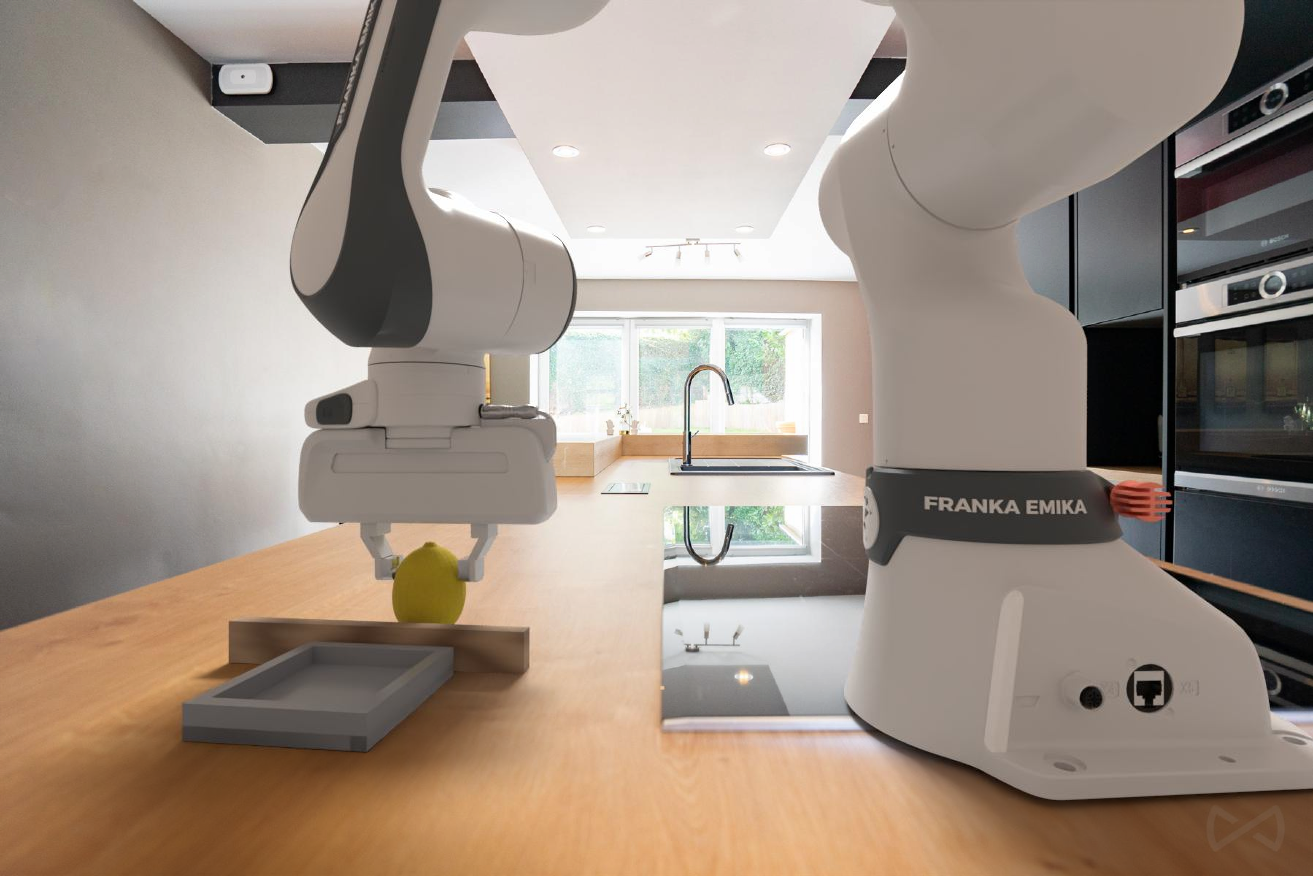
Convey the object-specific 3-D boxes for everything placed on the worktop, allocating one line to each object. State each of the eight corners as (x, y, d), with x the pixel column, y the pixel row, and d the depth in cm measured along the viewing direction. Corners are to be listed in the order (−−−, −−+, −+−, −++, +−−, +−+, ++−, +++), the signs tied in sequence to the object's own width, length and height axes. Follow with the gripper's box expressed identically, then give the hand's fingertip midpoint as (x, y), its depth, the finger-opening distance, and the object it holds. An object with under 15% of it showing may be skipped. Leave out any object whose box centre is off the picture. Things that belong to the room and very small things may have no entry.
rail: (529, 669, 45) (529, 627, 45) (524, 676, 43) (524, 632, 43) (241, 656, 47) (241, 616, 47) (228, 662, 46) (228, 621, 46)
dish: (453, 676, 43) (453, 647, 43) (366, 751, 33) (366, 713, 33) (309, 669, 44) (309, 641, 44) (182, 740, 34) (182, 703, 34)
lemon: (442, 655, 47) (443, 546, 47) (376, 651, 48) (377, 545, 48) (478, 635, 52) (478, 537, 53) (417, 631, 53) (418, 536, 54)
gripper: (566, 406, 52) (567, 573, 52) (335, 408, 55) (336, 569, 55) (544, 401, 46) (545, 592, 46) (283, 405, 48) (285, 586, 48)
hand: (429, 579), depth 50 cm, fingers closed on lemon, 5 cm apart
